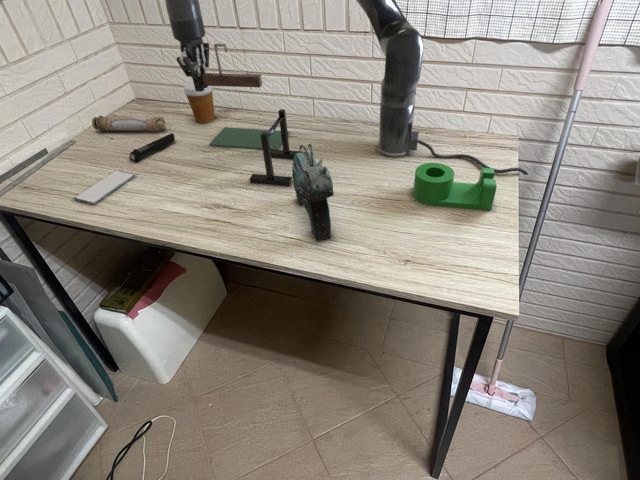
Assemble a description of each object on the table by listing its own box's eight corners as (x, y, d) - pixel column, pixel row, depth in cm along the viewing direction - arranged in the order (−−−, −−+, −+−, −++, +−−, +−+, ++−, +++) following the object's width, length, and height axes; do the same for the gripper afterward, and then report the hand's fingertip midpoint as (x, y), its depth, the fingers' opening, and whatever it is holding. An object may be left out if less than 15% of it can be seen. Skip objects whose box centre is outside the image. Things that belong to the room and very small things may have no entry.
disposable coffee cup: (186, 123, 145) (176, 88, 137) (201, 112, 152) (193, 78, 144) (209, 127, 142) (201, 91, 134) (224, 115, 149) (217, 81, 141)
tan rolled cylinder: (103, 126, 146) (97, 112, 143) (171, 127, 143) (167, 113, 140) (94, 133, 142) (88, 119, 139) (164, 134, 139) (160, 120, 136)
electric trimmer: (179, 143, 134) (176, 134, 132) (136, 163, 125) (132, 153, 123) (171, 140, 136) (169, 131, 134) (129, 160, 127) (125, 150, 125)
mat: (288, 133, 136) (288, 131, 135) (277, 150, 127) (276, 149, 126) (225, 128, 140) (224, 127, 140) (209, 145, 131) (209, 144, 131)
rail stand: (270, 153, 126) (264, 107, 117) (306, 156, 123) (302, 109, 114) (250, 183, 114) (241, 134, 105) (289, 186, 111) (284, 137, 102)
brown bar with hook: (262, 84, 107) (256, 43, 101) (259, 87, 106) (253, 45, 100) (197, 82, 111) (187, 42, 105) (194, 85, 110) (184, 44, 103)
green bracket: (412, 203, 102) (414, 181, 98) (413, 183, 109) (416, 161, 105) (490, 210, 99) (496, 186, 95) (487, 189, 106) (493, 166, 101)
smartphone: (73, 198, 111) (115, 170, 121) (74, 199, 111) (116, 171, 122) (93, 203, 109) (134, 174, 119) (93, 205, 109) (135, 175, 119)
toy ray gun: (338, 242, 93) (335, 160, 80) (309, 248, 92) (302, 167, 79) (313, 194, 108) (307, 119, 95) (288, 199, 107) (279, 124, 94)
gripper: (186, 23, 94) (203, 100, 105) (212, 8, 104) (225, 80, 115) (155, 23, 95) (176, 98, 107) (184, 9, 106) (200, 79, 117)
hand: (202, 88), depth 111 cm, fingers closed on brown bar with hook, 2 cm apart
